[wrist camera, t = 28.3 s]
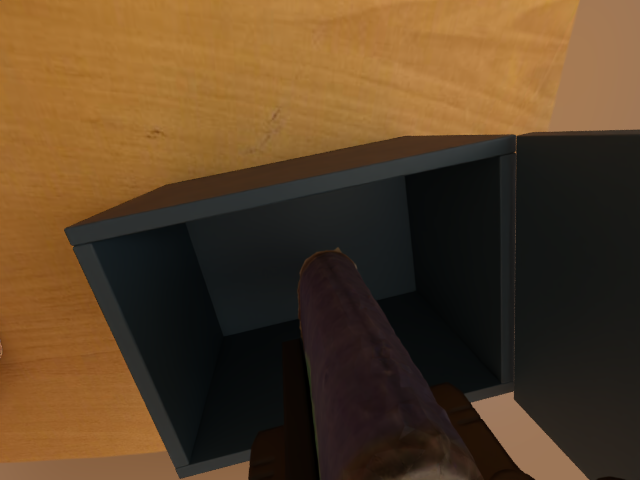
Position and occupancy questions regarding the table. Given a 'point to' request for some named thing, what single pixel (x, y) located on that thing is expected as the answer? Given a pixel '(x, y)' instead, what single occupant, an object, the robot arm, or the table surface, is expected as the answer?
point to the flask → (369, 386)
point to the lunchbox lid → (580, 294)
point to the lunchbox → (283, 277)
